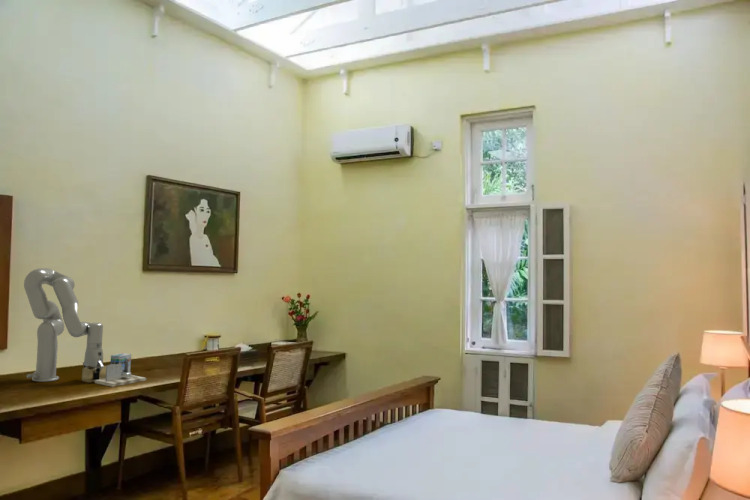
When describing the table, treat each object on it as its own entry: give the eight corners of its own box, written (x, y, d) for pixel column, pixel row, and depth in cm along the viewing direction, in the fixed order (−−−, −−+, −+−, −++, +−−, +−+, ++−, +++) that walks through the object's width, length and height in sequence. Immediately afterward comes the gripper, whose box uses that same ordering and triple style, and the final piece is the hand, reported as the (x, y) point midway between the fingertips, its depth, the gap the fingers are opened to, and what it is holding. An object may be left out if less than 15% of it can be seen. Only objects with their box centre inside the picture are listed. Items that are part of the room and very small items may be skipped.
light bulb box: (119, 375, 342) (120, 356, 342) (109, 373, 343) (110, 355, 343) (130, 371, 352) (131, 353, 353) (120, 370, 354) (121, 352, 354)
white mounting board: (112, 386, 311) (112, 383, 311) (94, 383, 318) (94, 380, 318) (145, 380, 331) (146, 377, 331) (128, 377, 337) (128, 374, 337)
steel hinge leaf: (109, 382, 315) (110, 362, 315) (102, 380, 317) (103, 361, 317) (133, 378, 328) (134, 359, 329) (126, 376, 331) (127, 357, 331)
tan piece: (89, 382, 318) (90, 369, 318) (81, 380, 321) (82, 367, 321) (111, 378, 331) (112, 366, 331) (104, 377, 334) (104, 364, 334)
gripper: (110, 346, 323) (108, 380, 323) (89, 343, 331) (87, 375, 331) (98, 348, 316) (96, 382, 316) (77, 344, 324) (75, 377, 324)
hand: (92, 378), depth 323 cm, fingers closed on tan piece, 6 cm apart
